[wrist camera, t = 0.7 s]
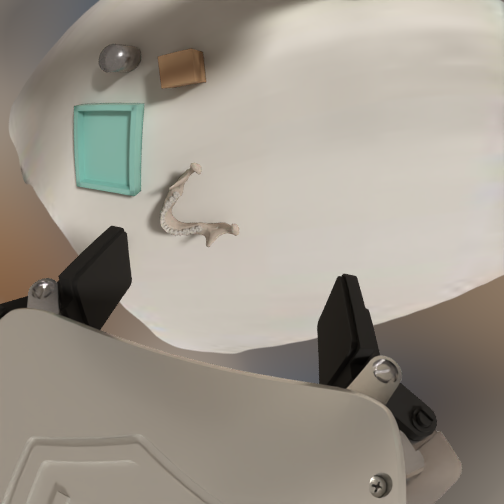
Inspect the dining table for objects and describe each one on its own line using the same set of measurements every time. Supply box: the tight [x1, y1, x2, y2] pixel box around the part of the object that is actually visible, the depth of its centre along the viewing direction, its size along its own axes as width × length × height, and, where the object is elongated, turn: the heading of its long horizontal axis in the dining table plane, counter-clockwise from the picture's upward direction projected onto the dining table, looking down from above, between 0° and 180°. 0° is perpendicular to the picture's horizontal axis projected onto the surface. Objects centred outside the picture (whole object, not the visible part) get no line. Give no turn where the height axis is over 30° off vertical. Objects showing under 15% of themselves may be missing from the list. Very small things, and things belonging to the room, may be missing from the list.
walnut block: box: [158, 48, 206, 88], centre depth 32 cm, size 5×5×5 cm
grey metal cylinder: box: [99, 44, 141, 72], centre depth 31 cm, size 5×5×6 cm
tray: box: [74, 103, 144, 196], centre depth 41 cm, size 16×14×2 cm
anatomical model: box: [160, 163, 239, 247], centre depth 44 cm, size 13×11×10 cm
